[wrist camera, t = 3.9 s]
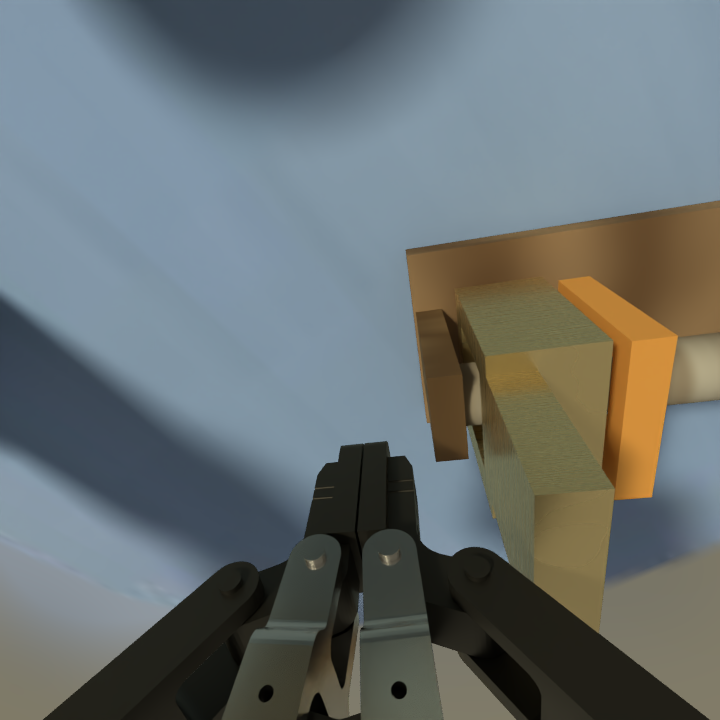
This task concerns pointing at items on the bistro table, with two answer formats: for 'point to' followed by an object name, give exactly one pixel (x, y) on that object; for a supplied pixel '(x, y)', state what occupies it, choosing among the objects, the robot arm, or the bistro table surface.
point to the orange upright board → (629, 384)
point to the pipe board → (557, 262)
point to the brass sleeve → (543, 434)
